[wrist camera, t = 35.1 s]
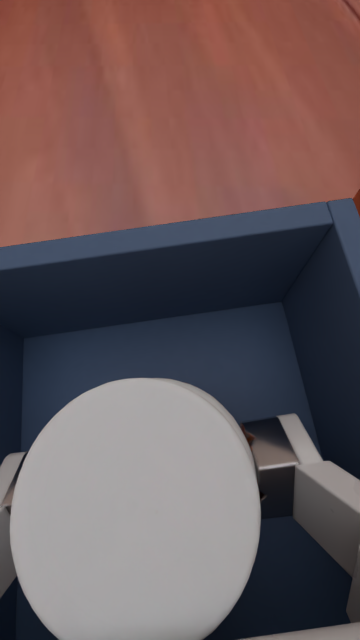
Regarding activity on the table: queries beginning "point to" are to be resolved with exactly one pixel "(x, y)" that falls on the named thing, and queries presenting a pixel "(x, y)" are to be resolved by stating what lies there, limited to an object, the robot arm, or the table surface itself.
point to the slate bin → (200, 361)
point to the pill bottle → (136, 514)
